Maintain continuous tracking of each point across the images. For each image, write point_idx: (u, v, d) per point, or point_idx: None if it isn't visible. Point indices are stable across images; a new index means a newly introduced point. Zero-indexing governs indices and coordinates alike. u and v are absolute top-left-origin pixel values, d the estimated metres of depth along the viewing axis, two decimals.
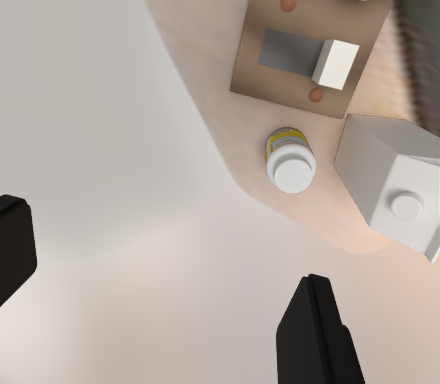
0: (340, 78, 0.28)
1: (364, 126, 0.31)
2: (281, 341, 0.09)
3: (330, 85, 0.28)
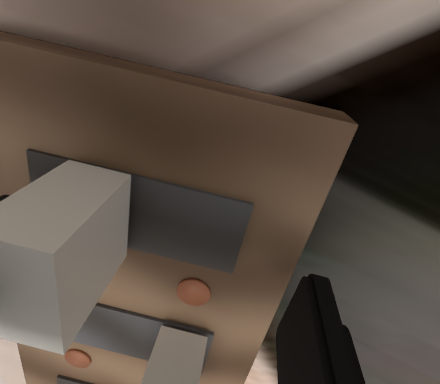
0: None
1: None
2: (281, 341, 0.09)
3: None
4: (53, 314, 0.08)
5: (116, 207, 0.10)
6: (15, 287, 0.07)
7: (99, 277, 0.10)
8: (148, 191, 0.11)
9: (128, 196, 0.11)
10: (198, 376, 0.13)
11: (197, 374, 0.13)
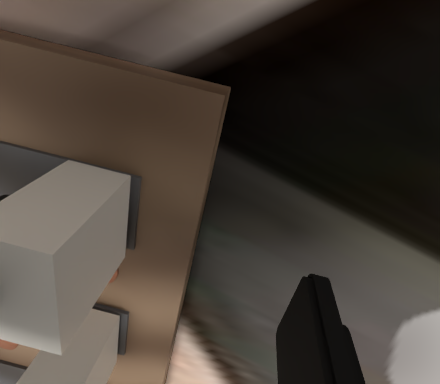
0: None
1: None
2: (281, 341, 0.09)
3: None
4: (51, 315, 0.08)
5: (115, 207, 0.10)
6: (14, 287, 0.07)
7: (98, 278, 0.10)
8: (38, 164, 0.11)
9: (128, 197, 0.11)
10: (98, 351, 0.13)
11: (98, 350, 0.13)
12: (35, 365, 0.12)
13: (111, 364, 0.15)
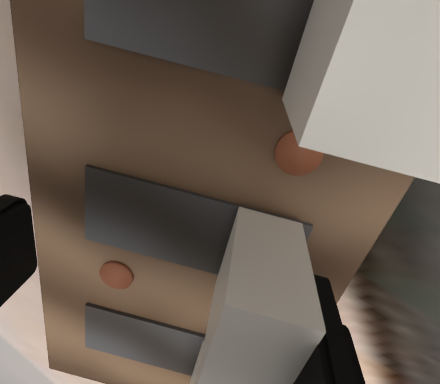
0: None
1: None
2: None
3: None
4: None
5: None
6: None
7: None
8: None
9: None
10: (307, 257, 0.09)
11: (304, 255, 0.09)
12: (239, 265, 0.08)
13: None
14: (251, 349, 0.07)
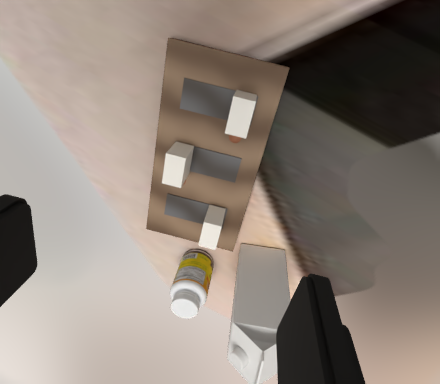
0: (213, 243, 0.38)
1: (238, 269, 0.41)
2: (281, 341, 0.09)
3: (207, 247, 0.39)
4: (248, 122, 0.30)
5: None
6: (241, 113, 0.30)
7: None
8: (223, 92, 0.34)
9: None
10: (190, 150, 0.35)
11: (189, 150, 0.35)
12: (171, 149, 0.34)
13: (189, 169, 0.38)
14: (172, 165, 0.34)
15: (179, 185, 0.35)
